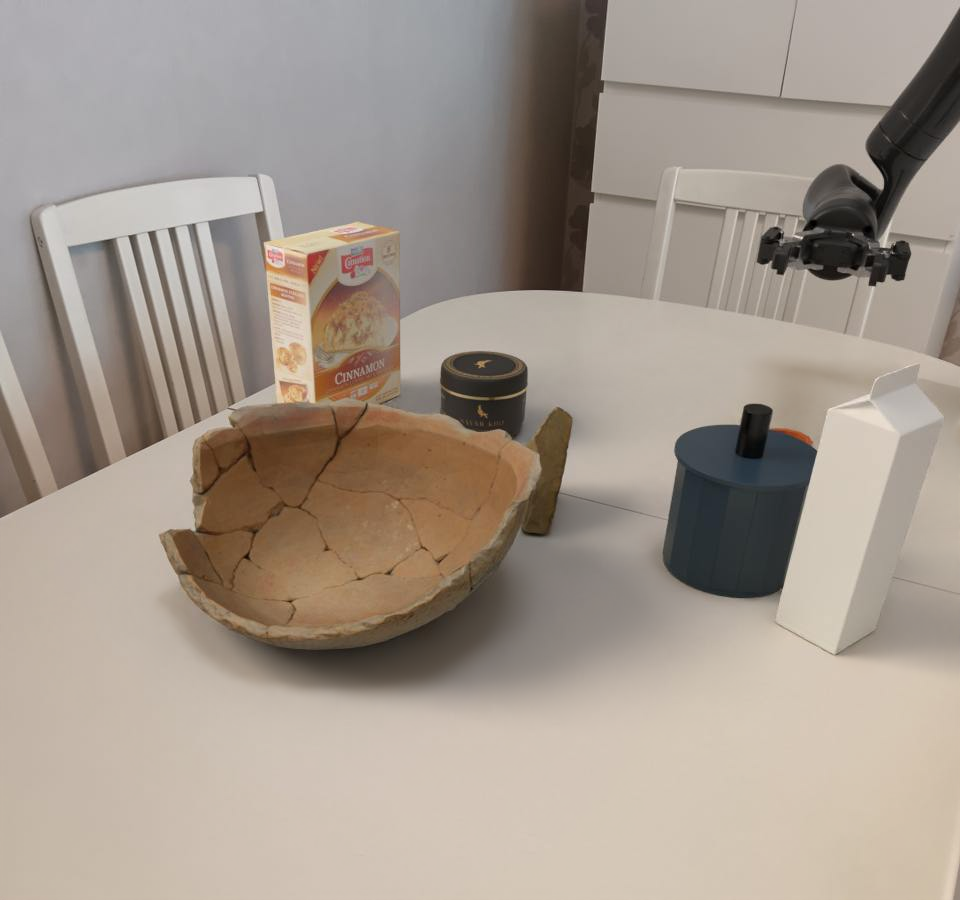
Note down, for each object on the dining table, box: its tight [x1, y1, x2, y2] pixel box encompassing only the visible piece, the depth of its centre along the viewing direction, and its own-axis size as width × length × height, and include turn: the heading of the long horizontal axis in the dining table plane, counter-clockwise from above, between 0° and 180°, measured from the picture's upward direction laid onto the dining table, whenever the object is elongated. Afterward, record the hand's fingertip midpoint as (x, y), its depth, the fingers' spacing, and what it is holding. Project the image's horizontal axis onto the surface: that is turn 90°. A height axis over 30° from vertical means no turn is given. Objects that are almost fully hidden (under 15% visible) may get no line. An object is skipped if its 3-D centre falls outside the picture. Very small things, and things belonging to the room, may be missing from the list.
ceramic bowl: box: [158, 398, 541, 651], centre depth 80 cm, size 30×27×15 cm
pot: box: [662, 460, 809, 598], centre depth 86 cm, size 12×12×10 cm
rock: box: [521, 406, 574, 535], centre depth 95 cm, size 11×9×10 cm
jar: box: [439, 350, 529, 438], centre depth 111 cm, size 10×10×8 cm
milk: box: [774, 362, 945, 656], centre depth 75 cm, size 6×6×22 cm
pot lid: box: [673, 403, 818, 491], centre depth 82 cm, size 13×13×5 cm
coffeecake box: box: [263, 221, 402, 405], centre depth 112 cm, size 15×7×20 cm, turn 143°
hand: (828, 269), depth 92 cm, fingers open, 8 cm apart
